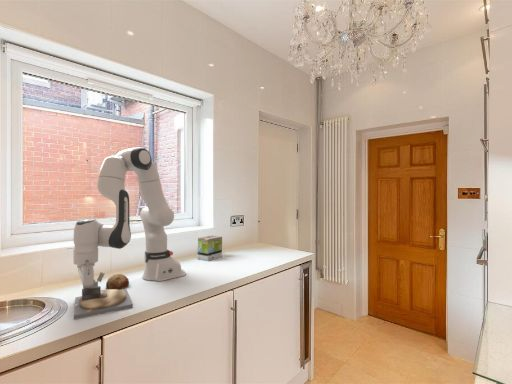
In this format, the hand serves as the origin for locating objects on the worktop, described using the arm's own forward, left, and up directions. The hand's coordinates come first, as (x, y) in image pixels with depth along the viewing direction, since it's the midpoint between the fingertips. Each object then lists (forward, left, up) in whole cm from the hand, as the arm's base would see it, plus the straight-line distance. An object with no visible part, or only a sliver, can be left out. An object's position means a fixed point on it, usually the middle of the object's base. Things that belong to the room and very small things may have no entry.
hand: (85, 291), depth 117 cm
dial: (-6, +4, -3) cm, 8 cm away
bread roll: (-13, -16, -6) cm, 22 cm away
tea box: (-74, -47, -6) cm, 88 cm away
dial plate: (-6, +4, -5) cm, 9 cm away
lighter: (-4, -16, -5) cm, 17 cm away
